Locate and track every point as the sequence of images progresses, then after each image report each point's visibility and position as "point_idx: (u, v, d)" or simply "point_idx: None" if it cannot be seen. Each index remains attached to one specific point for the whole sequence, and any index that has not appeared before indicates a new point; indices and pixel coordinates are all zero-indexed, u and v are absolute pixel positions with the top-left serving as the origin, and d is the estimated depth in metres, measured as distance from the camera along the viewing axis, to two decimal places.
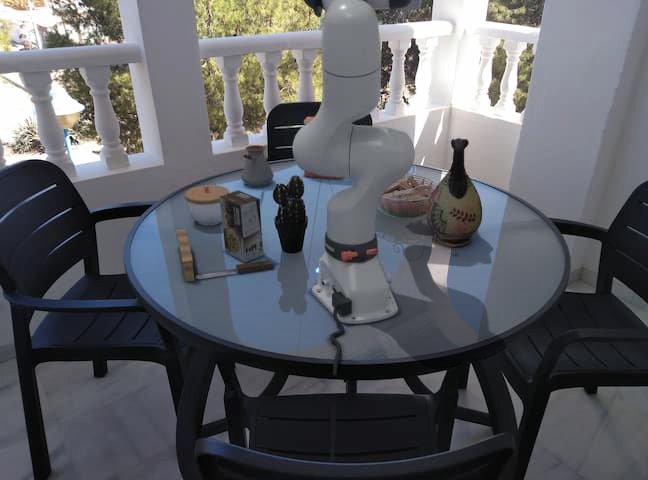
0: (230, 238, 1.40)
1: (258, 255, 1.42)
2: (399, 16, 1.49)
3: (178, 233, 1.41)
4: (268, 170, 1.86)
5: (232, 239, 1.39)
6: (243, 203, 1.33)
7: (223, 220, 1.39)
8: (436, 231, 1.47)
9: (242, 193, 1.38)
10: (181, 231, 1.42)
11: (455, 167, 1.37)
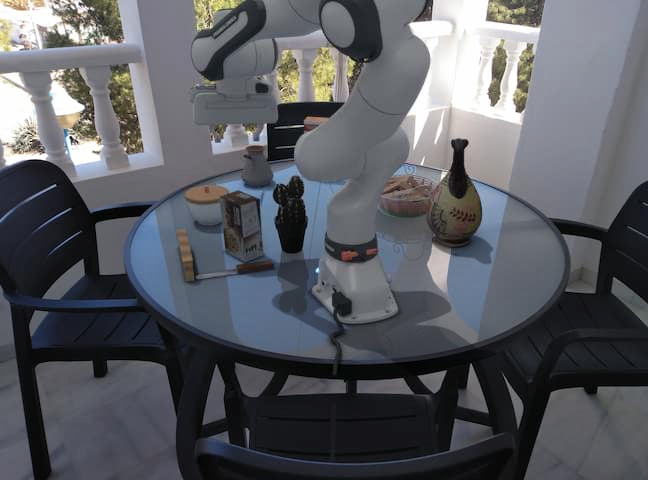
0: (230, 238, 1.40)
1: (258, 255, 1.42)
2: (254, 133, 1.33)
3: (178, 233, 1.41)
4: (268, 170, 1.86)
5: (232, 239, 1.39)
6: (243, 203, 1.33)
7: (223, 220, 1.39)
8: (436, 231, 1.47)
9: (242, 193, 1.38)
10: (181, 231, 1.42)
11: (455, 167, 1.37)
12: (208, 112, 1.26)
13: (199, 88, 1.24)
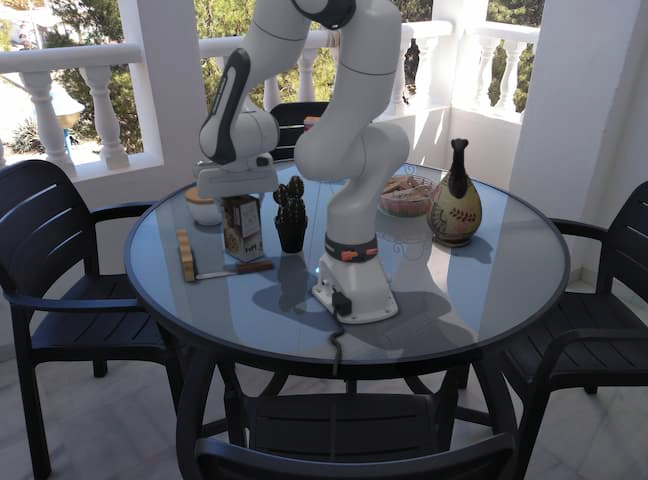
0: (230, 238, 1.40)
1: (258, 255, 1.42)
2: None
3: (178, 233, 1.41)
4: None
5: (232, 239, 1.39)
6: (243, 203, 1.33)
7: (223, 220, 1.39)
8: (436, 231, 1.47)
9: None
10: (181, 231, 1.42)
11: (455, 167, 1.37)
12: (212, 187, 1.31)
13: (202, 165, 1.29)
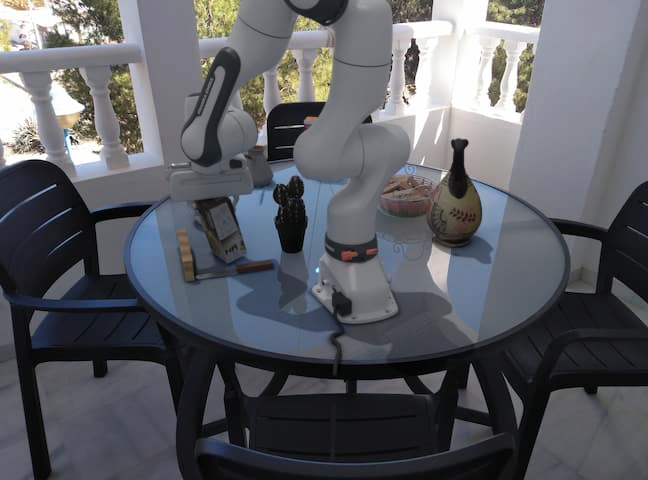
0: (211, 240, 1.38)
1: (241, 254, 1.39)
2: None
3: (178, 233, 1.41)
4: (268, 170, 1.86)
5: (212, 241, 1.38)
6: (213, 206, 1.30)
7: (202, 223, 1.37)
8: (436, 231, 1.47)
9: None
10: (181, 231, 1.42)
11: (455, 167, 1.37)
12: (184, 189, 1.28)
13: (174, 167, 1.27)
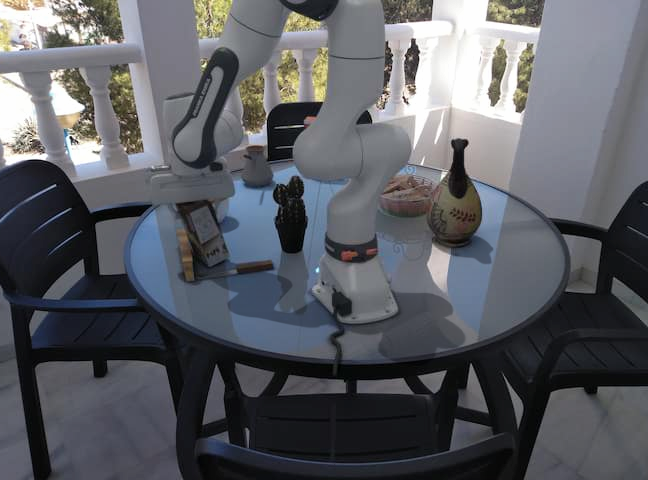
0: (193, 243, 1.37)
1: (223, 258, 1.38)
2: None
3: (178, 233, 1.41)
4: (268, 170, 1.86)
5: (194, 244, 1.36)
6: (193, 210, 1.28)
7: (184, 226, 1.36)
8: (436, 231, 1.47)
9: None
10: (181, 231, 1.42)
11: (455, 167, 1.37)
12: (164, 193, 1.27)
13: (154, 170, 1.25)
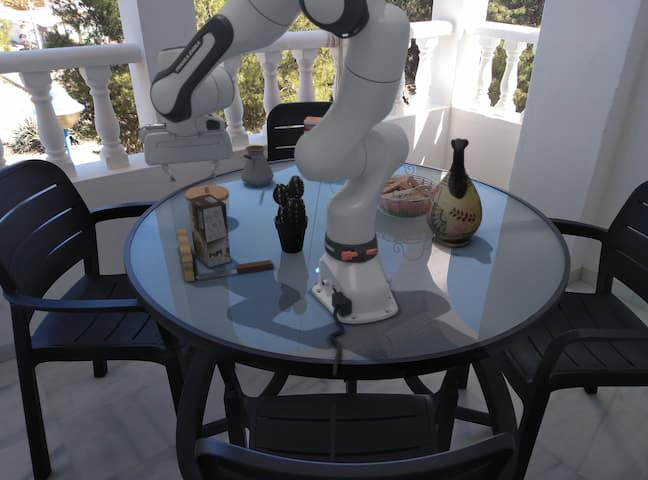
0: (197, 241, 1.37)
1: (224, 261, 1.38)
2: (210, 170, 1.30)
3: (178, 233, 1.41)
4: (268, 170, 1.86)
5: (198, 242, 1.37)
6: (207, 207, 1.30)
7: (191, 223, 1.37)
8: (436, 231, 1.47)
9: (211, 197, 1.36)
10: (181, 231, 1.42)
11: (455, 167, 1.37)
12: (159, 152, 1.23)
13: (148, 128, 1.21)
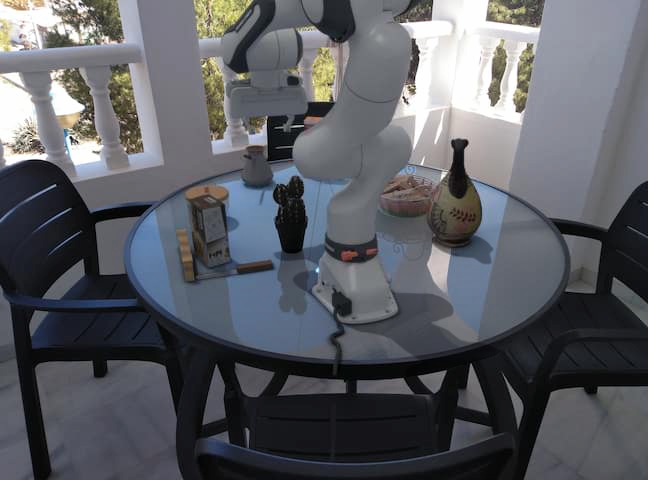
0: (197, 242, 1.37)
1: (224, 261, 1.38)
2: (285, 125, 1.41)
3: (178, 233, 1.41)
4: (268, 170, 1.86)
5: (198, 243, 1.37)
6: (206, 208, 1.30)
7: (191, 223, 1.37)
8: (436, 231, 1.47)
9: (211, 197, 1.36)
10: (181, 231, 1.42)
11: (455, 167, 1.37)
12: (243, 106, 1.33)
13: (235, 83, 1.32)
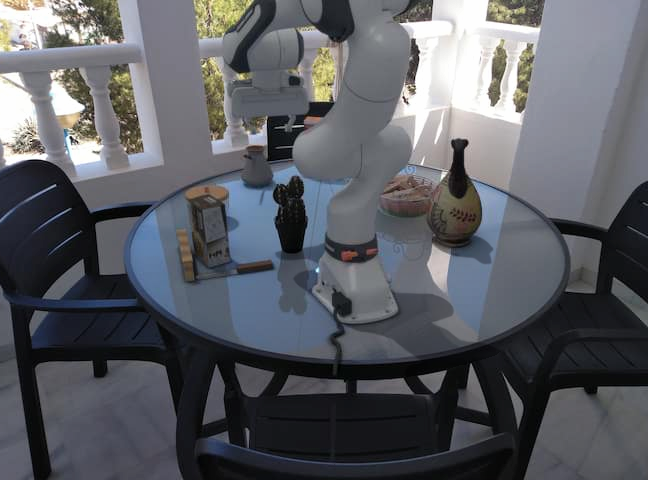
0: (197, 242, 1.37)
1: (224, 261, 1.38)
2: (287, 125, 1.41)
3: (178, 233, 1.41)
4: (268, 170, 1.86)
5: (198, 243, 1.37)
6: (206, 208, 1.30)
7: (191, 223, 1.37)
8: (436, 231, 1.47)
9: (211, 197, 1.36)
10: (181, 231, 1.42)
11: (455, 167, 1.37)
12: (245, 106, 1.34)
13: (236, 83, 1.32)
